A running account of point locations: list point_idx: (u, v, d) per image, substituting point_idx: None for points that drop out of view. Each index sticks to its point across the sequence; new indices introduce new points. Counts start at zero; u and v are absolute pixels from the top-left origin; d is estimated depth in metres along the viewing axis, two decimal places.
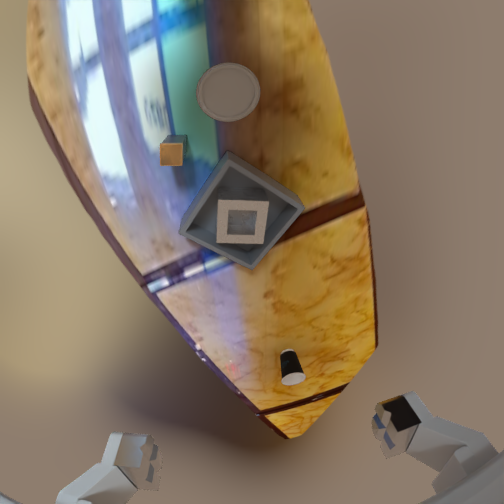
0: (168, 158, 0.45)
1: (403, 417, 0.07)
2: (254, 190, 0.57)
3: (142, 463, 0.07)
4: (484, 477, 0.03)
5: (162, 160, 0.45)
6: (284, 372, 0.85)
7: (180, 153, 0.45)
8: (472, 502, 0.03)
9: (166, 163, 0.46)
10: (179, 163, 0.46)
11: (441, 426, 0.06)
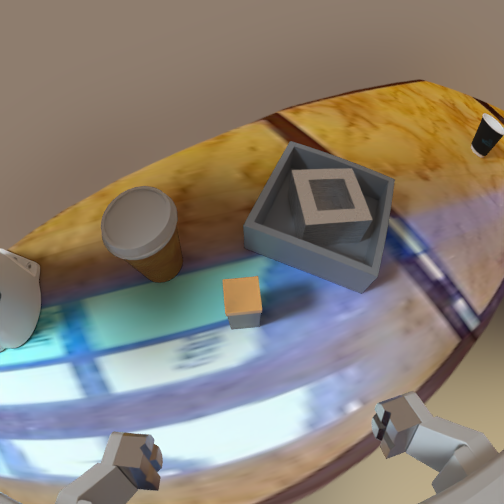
0: (248, 297, 0.30)
1: (403, 417, 0.07)
2: (290, 203, 0.43)
3: (142, 463, 0.07)
4: (484, 477, 0.03)
5: (253, 307, 0.29)
6: (494, 134, 0.46)
7: (238, 280, 0.31)
8: (472, 502, 0.03)
9: (257, 300, 0.30)
10: (255, 280, 0.31)
11: (441, 426, 0.06)
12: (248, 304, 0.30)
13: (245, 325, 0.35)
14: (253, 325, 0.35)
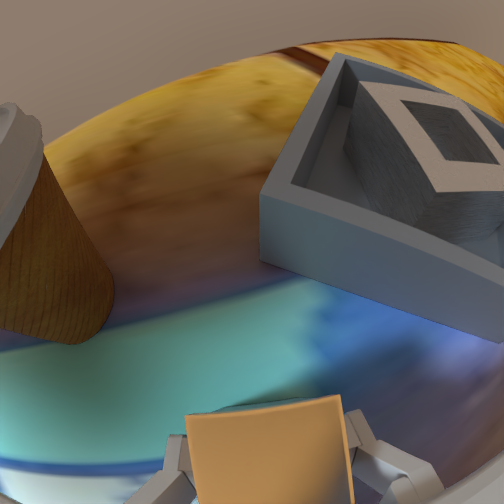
0: (301, 488, 0.05)
1: None
2: (355, 157, 0.18)
3: None
4: (484, 477, 0.03)
5: None
6: None
7: (253, 421, 0.06)
8: (472, 502, 0.03)
9: (338, 491, 0.05)
10: (328, 415, 0.06)
11: (383, 451, 0.06)
12: None
13: None
14: None
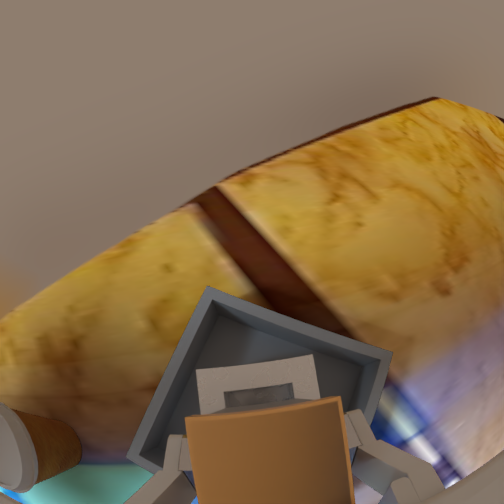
0: (301, 490, 0.05)
1: None
2: None
3: None
4: (484, 477, 0.03)
5: None
6: None
7: (253, 423, 0.06)
8: (472, 502, 0.03)
9: (338, 493, 0.05)
10: (328, 416, 0.06)
11: (382, 451, 0.06)
12: None
13: None
14: None
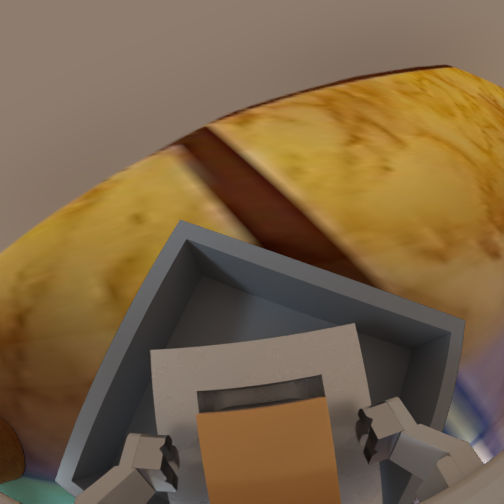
0: (293, 476, 0.06)
1: (385, 424, 0.07)
2: None
3: (162, 464, 0.07)
4: (484, 477, 0.03)
5: (312, 502, 0.06)
6: None
7: (252, 418, 0.07)
8: (472, 502, 0.03)
9: (325, 479, 0.06)
10: (315, 414, 0.07)
11: (424, 434, 0.06)
12: (294, 496, 0.06)
13: None
14: None
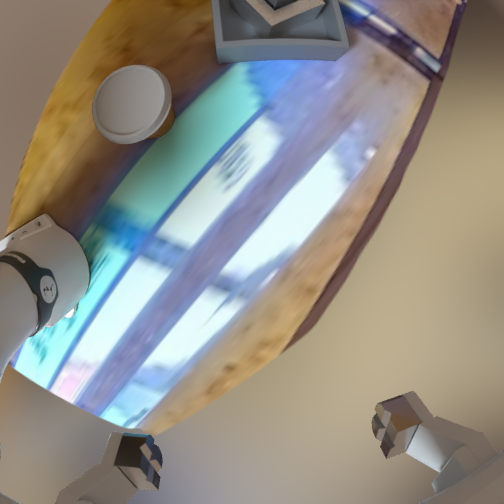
0: None
1: (403, 417, 0.07)
2: (237, 10, 0.31)
3: (142, 463, 0.07)
4: (484, 477, 0.03)
5: None
6: None
7: None
8: (472, 502, 0.03)
9: None
10: None
11: (441, 426, 0.06)
12: None
13: None
14: None
